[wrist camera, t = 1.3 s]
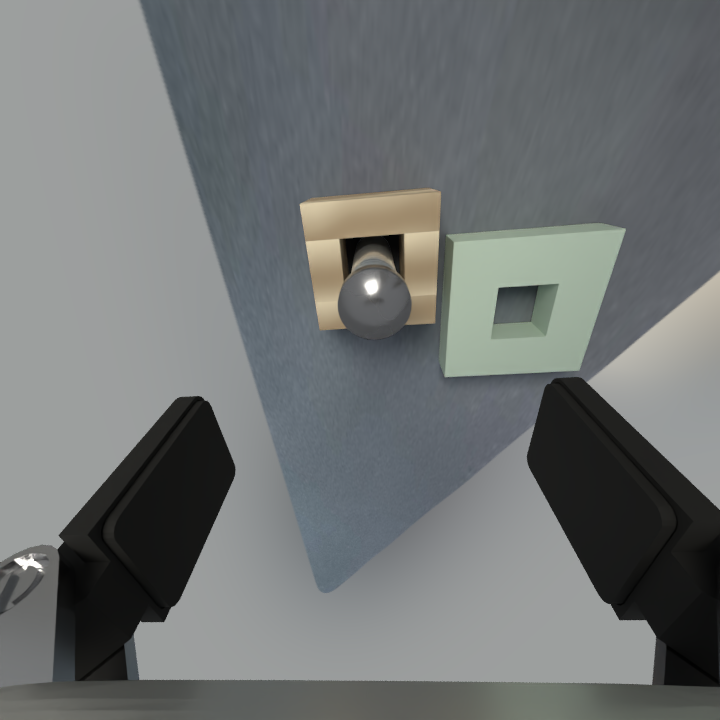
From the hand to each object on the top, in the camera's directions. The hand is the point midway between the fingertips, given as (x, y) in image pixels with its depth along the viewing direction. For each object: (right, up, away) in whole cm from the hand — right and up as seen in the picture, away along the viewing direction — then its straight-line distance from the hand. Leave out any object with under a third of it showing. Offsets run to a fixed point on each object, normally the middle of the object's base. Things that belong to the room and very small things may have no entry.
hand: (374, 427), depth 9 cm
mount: (+1, +11, +18) cm, 21 cm away
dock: (+13, +7, +19) cm, 24 cm away
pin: (+1, +11, +18) cm, 21 cm away
